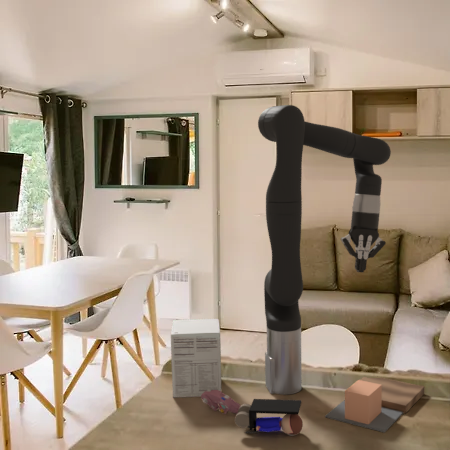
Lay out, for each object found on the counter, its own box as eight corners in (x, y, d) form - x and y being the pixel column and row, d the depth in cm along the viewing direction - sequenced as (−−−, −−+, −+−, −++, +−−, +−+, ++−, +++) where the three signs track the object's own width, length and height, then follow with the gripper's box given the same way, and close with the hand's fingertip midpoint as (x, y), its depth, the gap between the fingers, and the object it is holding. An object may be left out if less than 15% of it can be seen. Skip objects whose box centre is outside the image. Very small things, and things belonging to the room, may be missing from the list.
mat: (346, 399, 166) (346, 398, 166) (403, 413, 157) (403, 411, 157) (325, 417, 156) (325, 415, 156) (384, 432, 147) (384, 430, 147)
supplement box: (222, 396, 170) (220, 332, 167) (172, 398, 169) (169, 334, 167) (220, 377, 183) (219, 318, 180) (174, 379, 182) (172, 319, 180)
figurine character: (236, 442, 147) (302, 440, 144) (232, 411, 146) (298, 408, 143) (242, 429, 154) (305, 427, 150) (237, 398, 153) (301, 396, 150)
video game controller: (204, 412, 164) (195, 393, 160) (215, 400, 166) (206, 380, 163) (233, 423, 157) (224, 403, 154) (244, 410, 160) (235, 390, 157)
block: (358, 379, 160) (344, 390, 153) (381, 384, 156) (368, 396, 150) (358, 406, 161) (344, 418, 154) (381, 411, 157) (368, 424, 151)
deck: (366, 381, 177) (366, 374, 177) (424, 393, 168) (424, 386, 168) (345, 399, 166) (345, 391, 166) (405, 413, 157) (405, 405, 157)
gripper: (346, 209, 176) (340, 272, 177) (393, 213, 177) (387, 275, 178) (339, 208, 184) (333, 268, 185) (384, 212, 185) (378, 271, 186)
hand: (360, 271), depth 182 cm, fingers closed
